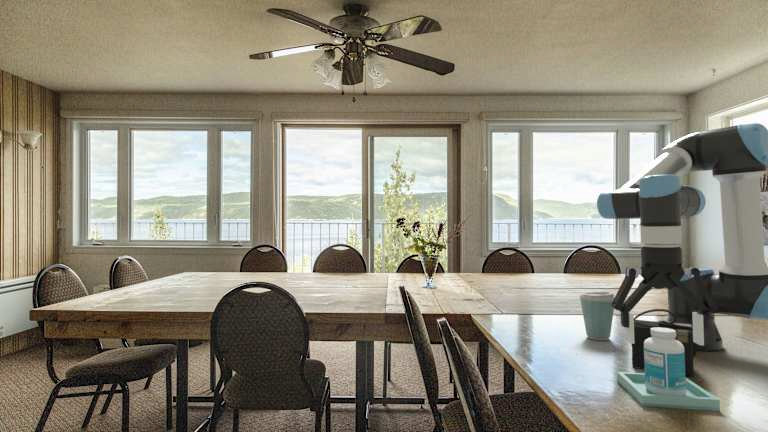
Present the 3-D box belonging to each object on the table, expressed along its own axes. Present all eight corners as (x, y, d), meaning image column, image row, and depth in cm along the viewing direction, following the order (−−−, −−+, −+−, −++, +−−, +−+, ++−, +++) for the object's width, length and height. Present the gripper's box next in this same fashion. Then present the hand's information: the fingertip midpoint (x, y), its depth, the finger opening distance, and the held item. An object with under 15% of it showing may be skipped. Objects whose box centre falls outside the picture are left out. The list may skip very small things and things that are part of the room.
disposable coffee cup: (581, 340, 135) (580, 293, 135) (579, 332, 145) (578, 289, 145) (618, 344, 131) (617, 295, 131) (614, 335, 141) (613, 290, 141)
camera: (698, 379, 100) (696, 316, 101) (630, 369, 108) (629, 310, 108) (693, 366, 110) (692, 309, 110) (632, 358, 117) (631, 304, 117)
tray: (682, 384, 97) (682, 375, 97) (719, 411, 83) (719, 399, 83) (617, 381, 100) (617, 371, 100) (642, 406, 86) (642, 395, 86)
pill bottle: (681, 388, 93) (680, 327, 94) (689, 401, 87) (688, 335, 87) (642, 383, 96) (641, 324, 97) (647, 395, 90) (645, 331, 90)
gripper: (714, 243, 94) (717, 339, 94) (594, 245, 98) (597, 336, 98) (736, 246, 86) (739, 349, 86) (605, 247, 91) (608, 346, 90)
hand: (663, 343), depth 92 cm, fingers open, 13 cm apart
